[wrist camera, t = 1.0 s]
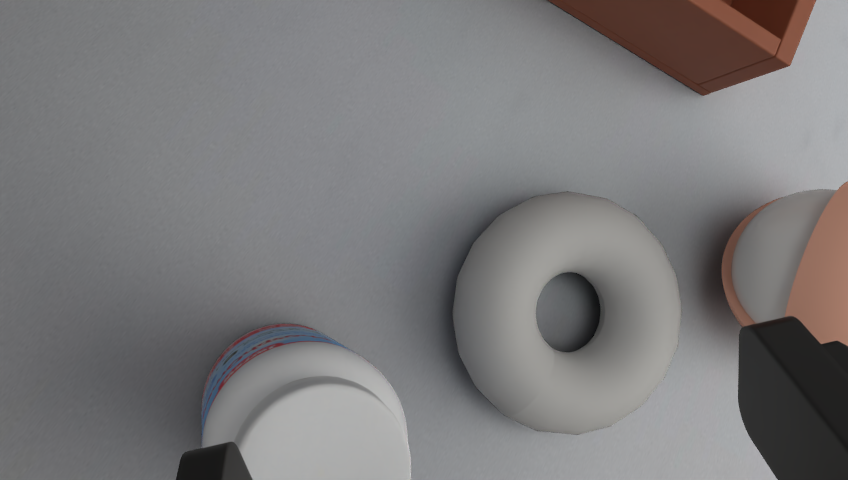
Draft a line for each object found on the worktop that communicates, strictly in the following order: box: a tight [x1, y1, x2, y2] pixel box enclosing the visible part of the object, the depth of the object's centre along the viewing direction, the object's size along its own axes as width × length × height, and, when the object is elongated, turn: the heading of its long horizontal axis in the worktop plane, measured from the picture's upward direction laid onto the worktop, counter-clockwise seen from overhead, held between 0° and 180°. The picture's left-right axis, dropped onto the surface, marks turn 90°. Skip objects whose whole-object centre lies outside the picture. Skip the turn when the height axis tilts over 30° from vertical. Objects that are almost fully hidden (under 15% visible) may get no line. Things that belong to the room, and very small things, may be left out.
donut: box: [452, 191, 682, 435], centre depth 32 cm, size 10×4×10 cm
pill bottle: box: [201, 324, 411, 480], centre depth 25 cm, size 6×6×11 cm
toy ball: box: [722, 182, 848, 346], centre depth 33 cm, size 8×8×8 cm
